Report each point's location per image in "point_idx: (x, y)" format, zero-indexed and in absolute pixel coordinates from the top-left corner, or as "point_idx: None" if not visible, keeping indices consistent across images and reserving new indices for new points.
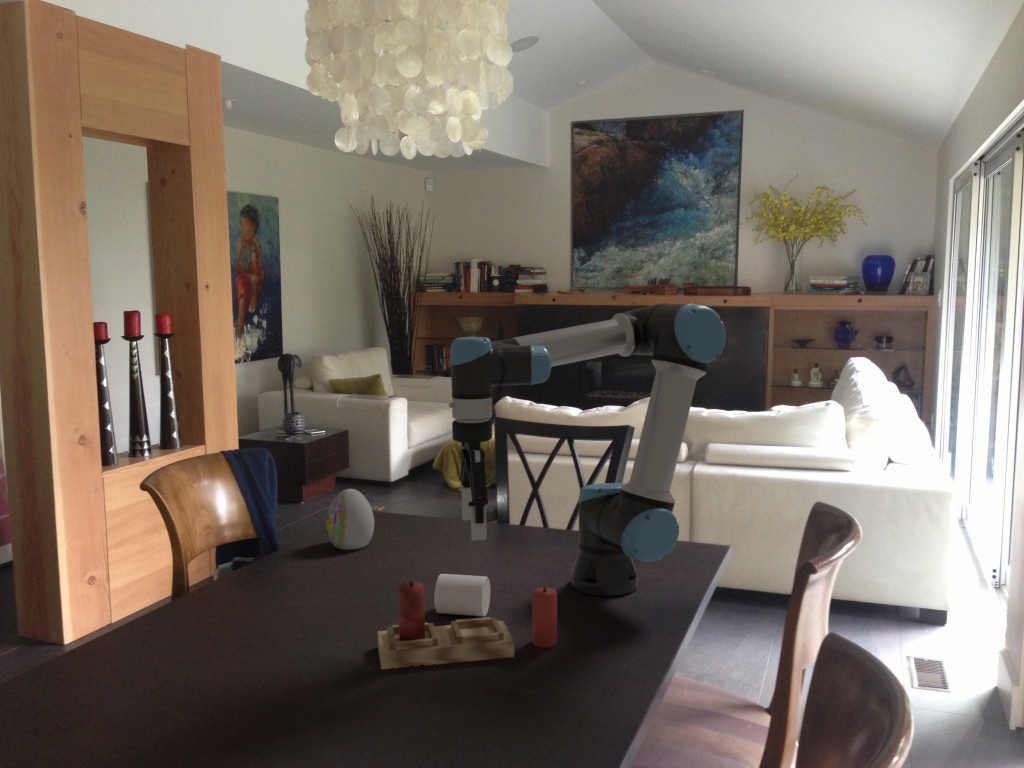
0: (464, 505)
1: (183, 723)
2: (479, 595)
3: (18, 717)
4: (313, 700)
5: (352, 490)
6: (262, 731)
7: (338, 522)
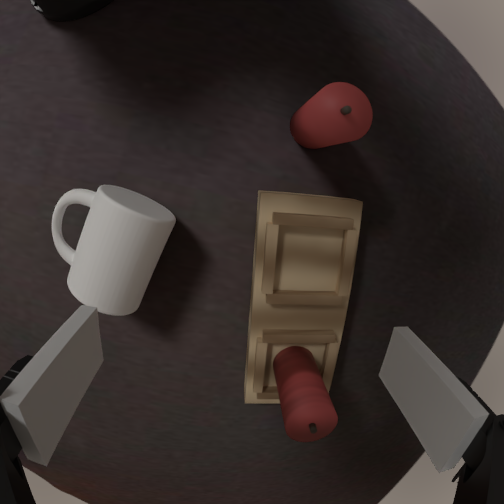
0: (77, 394)
1: (349, 496)
2: (167, 227)
3: None
4: (361, 437)
5: None
6: (392, 457)
7: None
